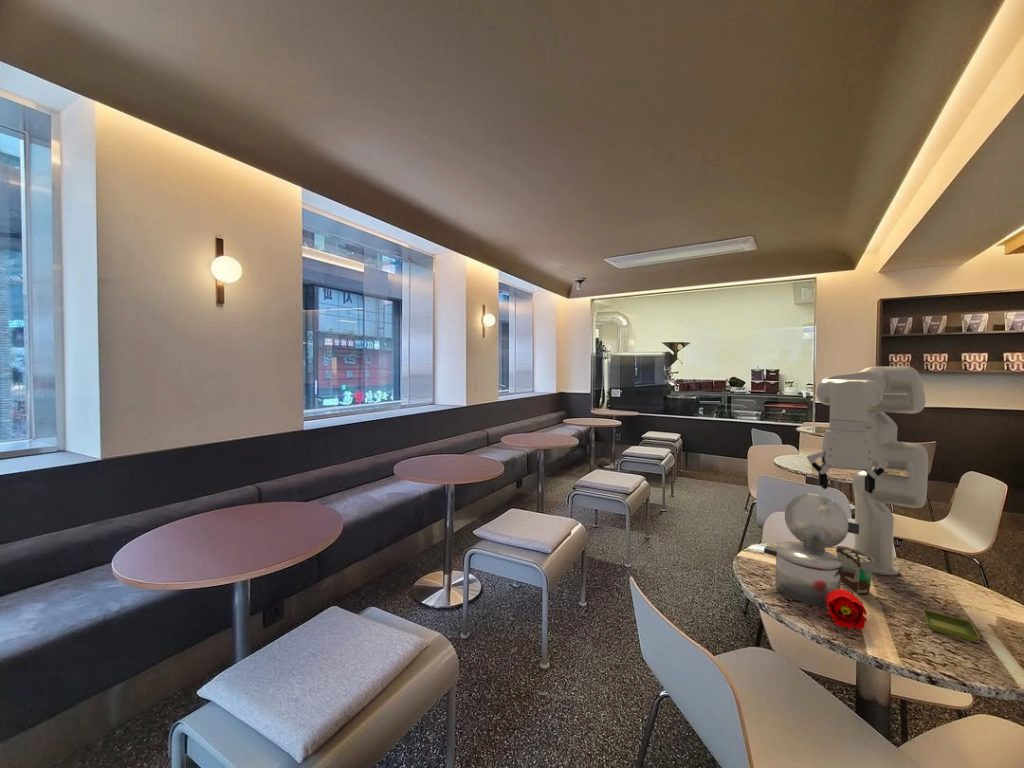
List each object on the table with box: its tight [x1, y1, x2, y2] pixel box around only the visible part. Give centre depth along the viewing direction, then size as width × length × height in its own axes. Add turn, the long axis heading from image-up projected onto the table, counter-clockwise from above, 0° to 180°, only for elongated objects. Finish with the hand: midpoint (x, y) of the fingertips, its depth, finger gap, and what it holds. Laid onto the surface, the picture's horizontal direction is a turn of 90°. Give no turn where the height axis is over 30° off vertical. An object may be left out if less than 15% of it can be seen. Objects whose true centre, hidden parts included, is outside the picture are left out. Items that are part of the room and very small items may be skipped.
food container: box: [835, 545, 876, 596], centre depth 119 cm, size 12×6×10 cm, turn 168°
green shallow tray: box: [921, 609, 981, 642], centre depth 99 cm, size 9×9×2 cm
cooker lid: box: [784, 493, 860, 551], centre depth 122 cm, size 16×18×3 cm
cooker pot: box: [763, 543, 856, 608], centre depth 116 cm, size 15×21×11 cm
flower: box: [826, 588, 868, 630], centre depth 102 cm, size 8×8×8 cm
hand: (845, 489), depth 108 cm, fingers open, 9 cm apart
